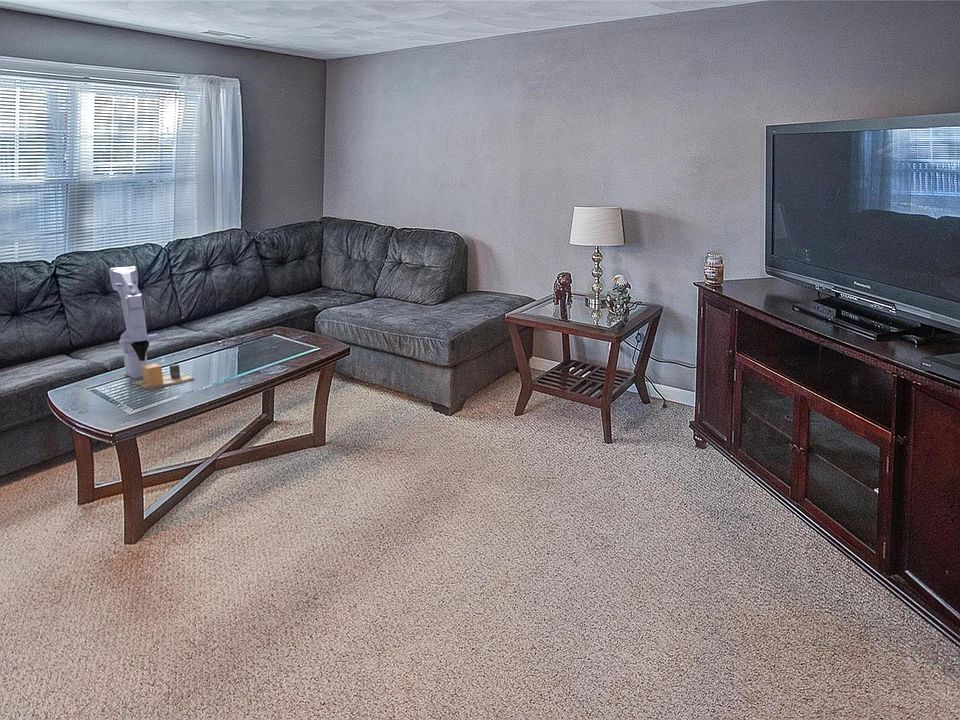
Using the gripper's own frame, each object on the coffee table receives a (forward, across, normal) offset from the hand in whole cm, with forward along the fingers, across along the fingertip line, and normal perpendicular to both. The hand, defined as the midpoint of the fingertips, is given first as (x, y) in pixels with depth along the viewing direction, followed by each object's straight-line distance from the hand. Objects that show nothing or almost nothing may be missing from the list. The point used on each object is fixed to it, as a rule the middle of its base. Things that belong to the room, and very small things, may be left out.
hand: (142, 360), depth 285 cm
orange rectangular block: (+9, +2, -3) cm, 9 cm away
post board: (+9, +6, -3) cm, 12 cm away
